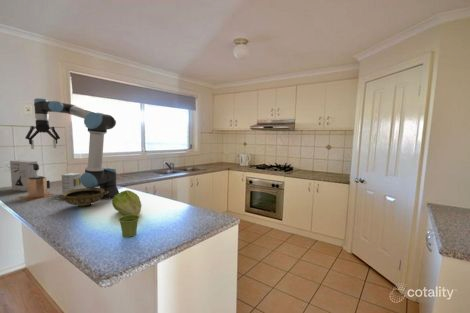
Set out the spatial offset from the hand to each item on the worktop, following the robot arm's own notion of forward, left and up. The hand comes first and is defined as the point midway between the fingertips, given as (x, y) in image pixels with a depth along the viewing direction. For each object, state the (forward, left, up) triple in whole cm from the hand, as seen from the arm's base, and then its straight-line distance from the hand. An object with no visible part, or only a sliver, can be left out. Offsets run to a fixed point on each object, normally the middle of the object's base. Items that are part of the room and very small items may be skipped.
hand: (44, 148), depth 168 cm
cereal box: (+43, 0, -38) cm, 57 cm away
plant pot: (-111, +5, -38) cm, 117 cm away
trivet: (+3, +4, -38) cm, 38 cm away
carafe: (+3, +3, -36) cm, 37 cm away
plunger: (+3, +4, -35) cm, 35 cm away
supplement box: (-6, -15, -38) cm, 41 cm away
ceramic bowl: (-45, -6, -38) cm, 59 cm away
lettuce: (-84, -13, -38) cm, 93 cm away
